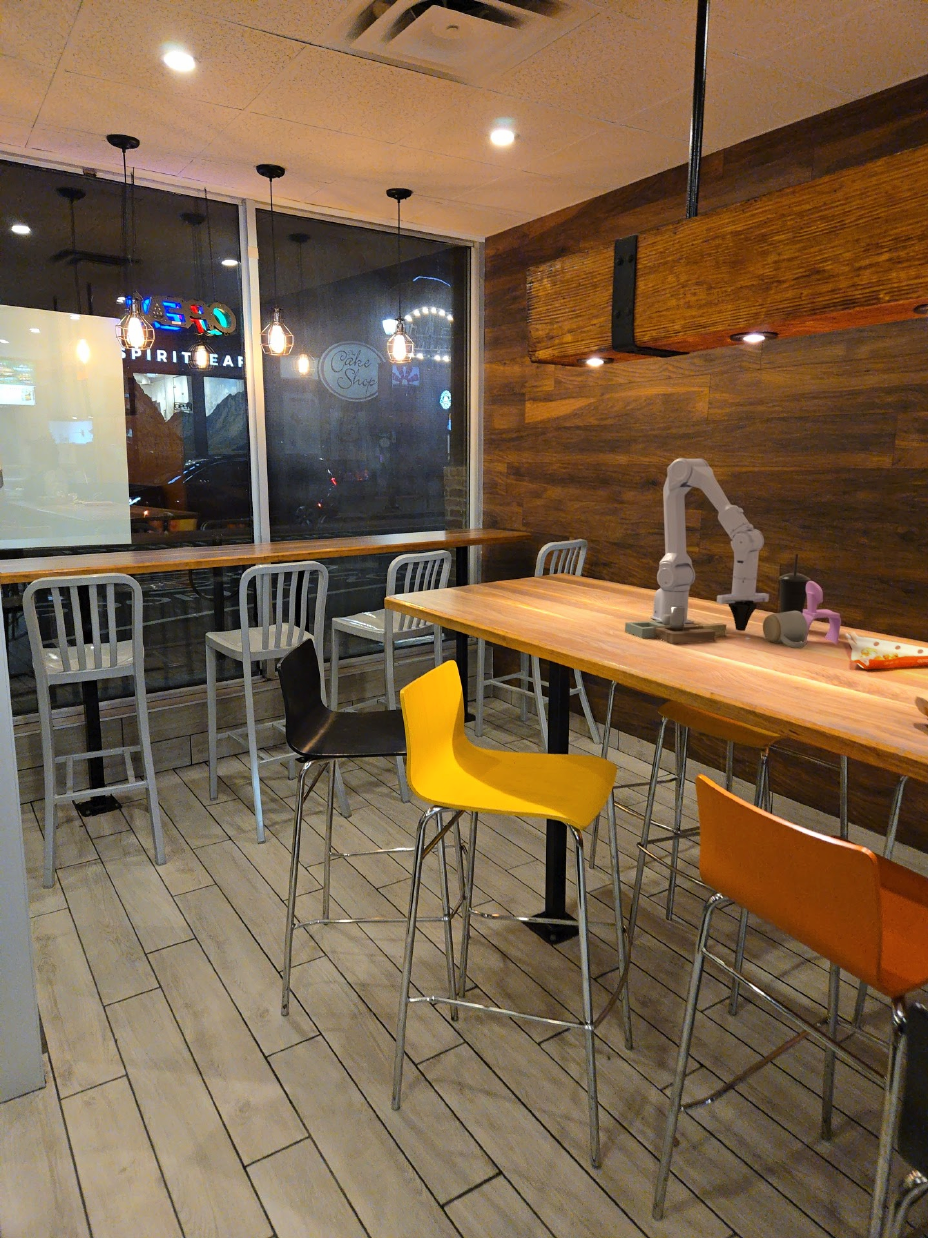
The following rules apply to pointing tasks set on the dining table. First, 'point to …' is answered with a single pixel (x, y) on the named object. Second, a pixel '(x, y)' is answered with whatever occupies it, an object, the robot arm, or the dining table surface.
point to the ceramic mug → (786, 628)
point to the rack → (646, 627)
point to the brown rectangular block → (715, 628)
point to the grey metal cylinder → (677, 618)
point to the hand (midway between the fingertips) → (740, 630)
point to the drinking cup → (793, 590)
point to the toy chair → (820, 612)
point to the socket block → (684, 634)
